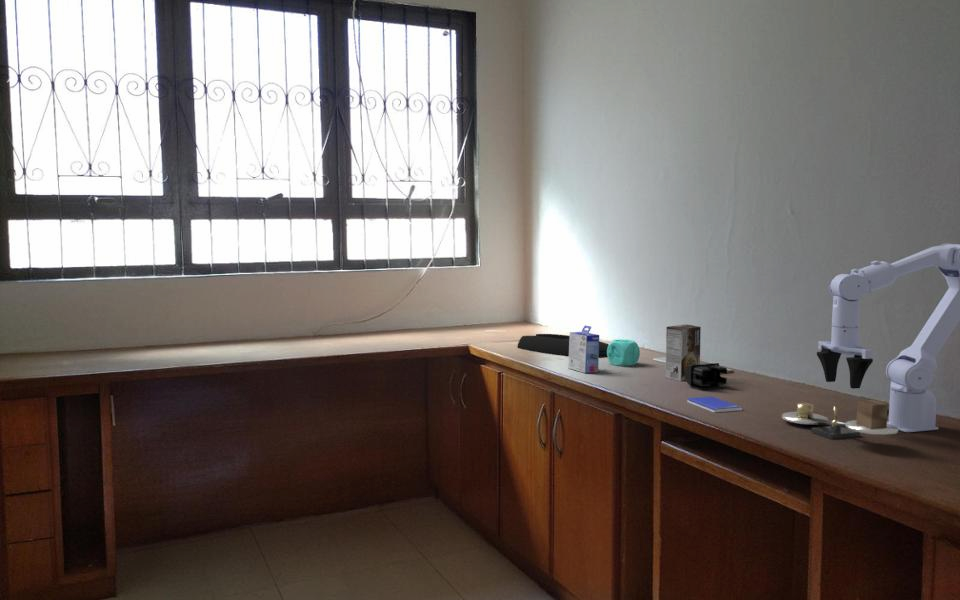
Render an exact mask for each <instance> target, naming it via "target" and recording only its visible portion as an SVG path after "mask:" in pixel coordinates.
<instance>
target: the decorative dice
mask: <svg viewBox="0 0 960 600" xmlns="http://www.w3.org/2000/svg"><path fill="white" fill-rule="evenodd" d="M608 344H609V346H608V348H607V357H606V358H607V360H608V361H609V363H610V364H611V365H613V366H617V367H633V366H635V365H636V364H637V363H638V361H639V360H640V355H641V350H640V346H639V344H638V343H637V342H636V341H635V340H632V339H622V338H620V339H612V340H611V342H610V343H608Z"/></svg>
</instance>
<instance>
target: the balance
mask: <svg viewBox="0 0 960 600" xmlns="http://www.w3.org/2000/svg"><path fill="white" fill-rule="evenodd" d="M814 406H815V405H814V404H813V403H809V402H797V403H796V411H787V412H784V413H781V418H782V420H784V421H787V422H789V423H794V424H800V425H811V426H812V425H813V426H815V425H817V426H818V425H822V426H818V427H817V426H816V427H811V429H810V431H811V432H810V433H813V434H815V435H818V436H821V437H824V438H827V439H829V440H838V439H846V438H847V439H848V438H856V437H857V438H859V437H861V434H865V435H866V434H867V435H872V436H873V435H875V436H891V435H896V434H898V433H899V430H898V428H897V427H896V426H894V425H891V424H888V423H887V427H886V428H876V429H870V428H866V427H863V426H860V425H857V424H856V421H857V419H855V420H854V419H852V420H847V421H846V422H845V421H841V420H839V419H838V409H837V406H836V405H834V406H833V418H834V419H833V420H830V419H828V417H826V416H825V415H822V414H818V413H814ZM823 425H824V426H823Z"/></svg>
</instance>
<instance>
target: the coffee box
mask: <svg viewBox="0 0 960 600" xmlns="http://www.w3.org/2000/svg"><path fill="white" fill-rule="evenodd" d="M701 329H702V328H701V326H698V325H697V326H696V325H692V324H678V325H677V324H676V325H670V326H666V337H665V338H666V343H665V346H666V348H665V376H664V377H665V379H669V380H674V381H678V382H683V381H686V379H685V370H686V368H687V367H688V366H689V365H699V364H701V332H702V331H701Z"/></svg>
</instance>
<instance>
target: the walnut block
mask: <svg viewBox="0 0 960 600" xmlns="http://www.w3.org/2000/svg"><path fill="white" fill-rule="evenodd" d="M856 404H857V407H856V420H857V421H856V424H857V425H860V426H863V427H866V428H870V429H876V428H886V427H887V422H888V409H889V407H888V406H889V404H888V403H886V402H881V401H877V400H874V399H870V400H869V399H867V400H858V401H857V403H856Z"/></svg>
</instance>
